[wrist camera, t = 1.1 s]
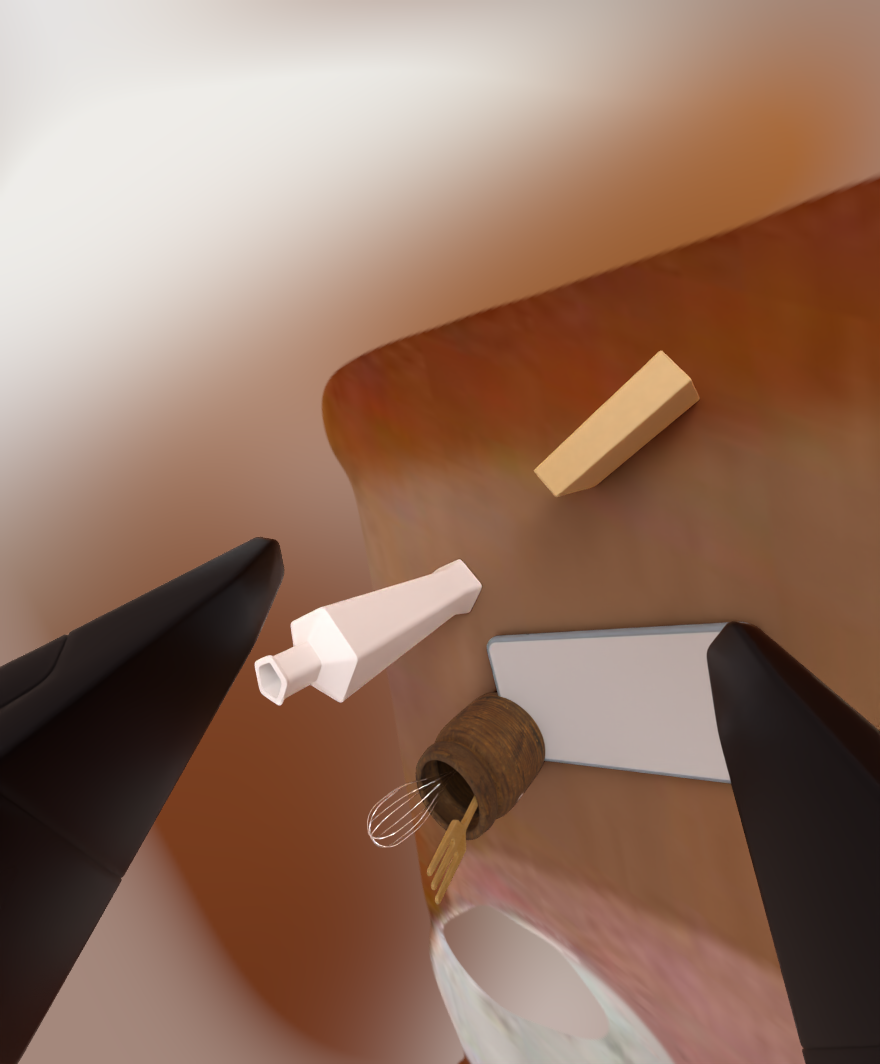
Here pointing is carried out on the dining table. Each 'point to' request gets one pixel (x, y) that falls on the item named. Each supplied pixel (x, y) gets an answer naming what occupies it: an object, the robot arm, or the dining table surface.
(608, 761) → the smartphone
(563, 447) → the toast
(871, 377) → the dining table surface
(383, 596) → the perfume bottle
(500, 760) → the utensil holder
